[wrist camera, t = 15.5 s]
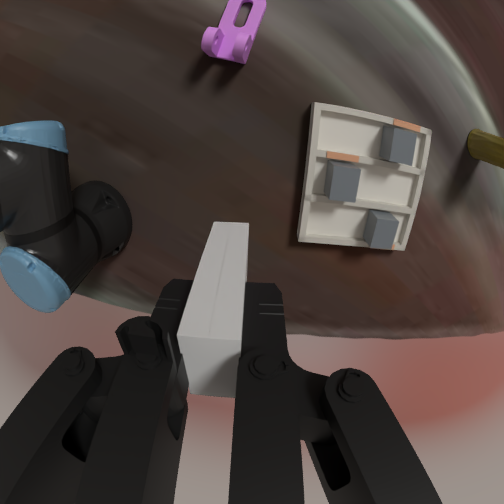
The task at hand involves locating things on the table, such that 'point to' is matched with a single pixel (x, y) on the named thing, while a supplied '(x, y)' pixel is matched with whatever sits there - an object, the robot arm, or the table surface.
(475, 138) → the vase
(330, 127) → the switch board
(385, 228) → the slider
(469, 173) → the table surface
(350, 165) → the slider
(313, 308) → the table surface
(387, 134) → the slider
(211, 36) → the bracket
